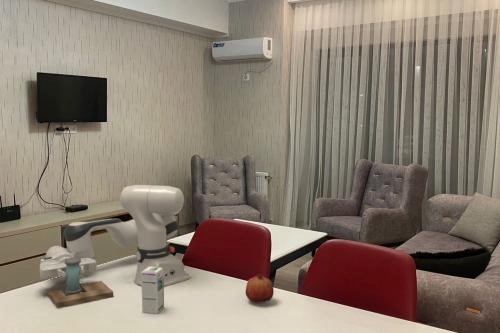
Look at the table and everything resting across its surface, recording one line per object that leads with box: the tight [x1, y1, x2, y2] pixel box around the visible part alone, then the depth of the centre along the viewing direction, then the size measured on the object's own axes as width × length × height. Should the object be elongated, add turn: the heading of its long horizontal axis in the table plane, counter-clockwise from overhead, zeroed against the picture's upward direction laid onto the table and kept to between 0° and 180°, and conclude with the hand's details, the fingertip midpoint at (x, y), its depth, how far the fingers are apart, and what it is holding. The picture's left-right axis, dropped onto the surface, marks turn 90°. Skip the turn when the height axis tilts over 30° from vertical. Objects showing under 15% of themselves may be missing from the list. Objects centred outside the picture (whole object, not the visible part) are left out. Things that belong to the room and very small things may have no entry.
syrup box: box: [141, 267, 165, 315], centre depth 160 cm, size 6×6×14 cm
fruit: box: [245, 273, 274, 304], centre depth 169 cm, size 11×10×10 cm
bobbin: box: [64, 258, 82, 295], centre depth 172 cm, size 6×6×12 cm
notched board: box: [47, 280, 114, 309], centre depth 172 cm, size 20×14×2 cm
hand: (73, 273), depth 171 cm, fingers closed on bobbin, 4 cm apart
